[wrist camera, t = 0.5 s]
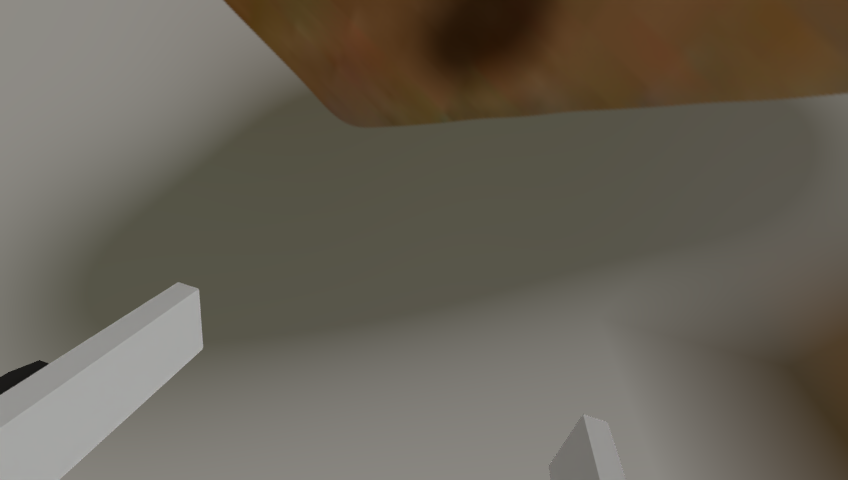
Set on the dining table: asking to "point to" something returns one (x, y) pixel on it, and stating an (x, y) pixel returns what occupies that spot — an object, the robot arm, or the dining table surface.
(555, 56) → the dining table surface
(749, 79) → the dining table surface
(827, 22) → the dining table surface
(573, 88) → the dining table surface
